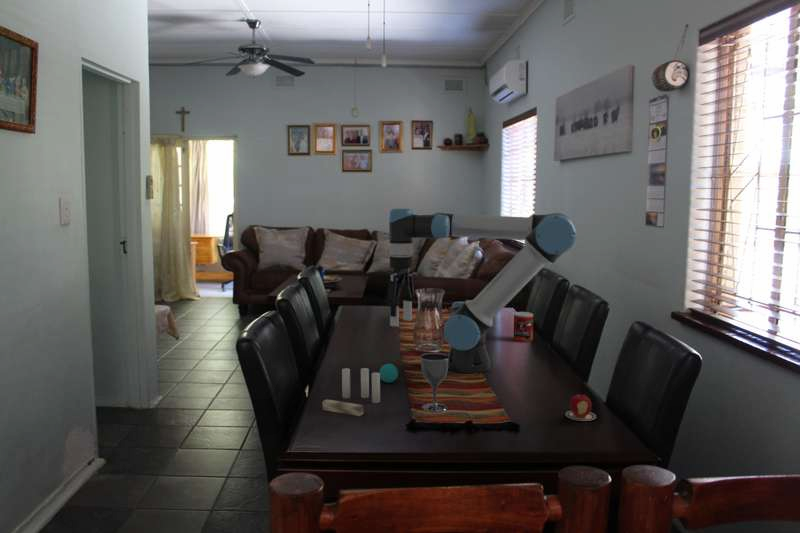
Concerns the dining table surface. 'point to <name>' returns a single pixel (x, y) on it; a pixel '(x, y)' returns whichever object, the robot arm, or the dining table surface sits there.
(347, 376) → the far back pin
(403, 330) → the dining table surface
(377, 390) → the near back pin
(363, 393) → the front pin
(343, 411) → the backstop
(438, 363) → the wine glass
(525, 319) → the canned food
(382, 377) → the ball
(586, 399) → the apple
